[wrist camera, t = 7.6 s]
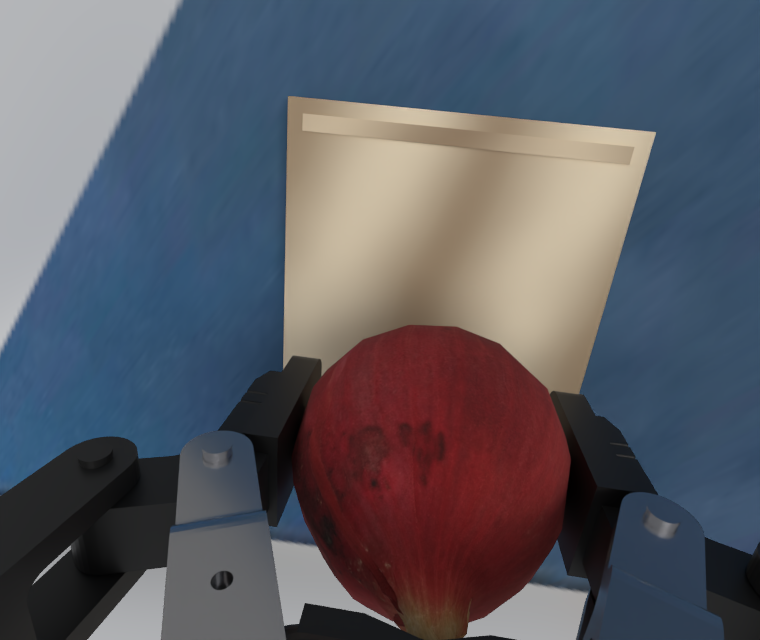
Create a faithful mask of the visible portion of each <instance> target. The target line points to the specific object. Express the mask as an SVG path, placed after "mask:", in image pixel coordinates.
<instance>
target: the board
mask: <svg viewBox="0 0 760 640" xmlns="http://www.w3.org/2000/svg"><path fill="white" fill-rule="evenodd" d="M655 134H656V132H647V131H637V130H627V129H617V128H607V127H597V126H587V125H576V124H566V123H556V122H546V121H536V120H526V119H516V118H506V117H496V116H485V115H475V114H465V113H455V112H445V111H435V110H425V109H415V108H405V107H394V106H384V105H374V104H364V103H354V102H344V101H334V100H324V99H314V98H303V97H293V96H288V126H287V182H286V239H285V295H284V351H283V369H284V368H285V366H286V365H287V363H288V362H289V360H290V359H291V357H292V356H293V355H295V356H302V357H310V358H317V359H321V362H322V373H321V377H322V375H323V374H324V373H325V372H326V370H327V369H328V368H330V367H331V366H332V365H333V364H334V363H336V362H337V361H338V360H339V359H340V358H341V357H343V356H344V355H345V354H346V353H347V352H349V351H350V350H351V349H352V348H353V347H354V346H356V345H357V344H358V343H359V342H360V341H361V340H363V339H366V338H369V337H372V336H375V335H378V334H381V333H385V332H388V331H391V330H394V329H397V328H400V327H403V326H407V325H431V326H456V327H459V328H462V329H464V330H467V331H469V332H472V333H474V334H477V335H479V336H482V337H484V338H487V339H490V340H492V341H495V342H497V343H500V344H501V345H502V346H503V347H504V348H505V349H506V350H507V351H508V352H509V353H510V354H511V355H512V356H513V357H514V358H516V359H517V360H518V361H519V362H520V363H521V364H522V365H523V366H524V367H525V368H526V369H527V370H528V371H529V372H530V373H531V374H532V375H534V376H535V377H536V378H537V379H538V380H539V381H540V382H541V383H542V384H543V385H544V386H545V387H546V388H547V389H548V391H549V394H550V393H551V392H552V391H559V392H566V393H574V394H579V392H580V388H581V385H582V382H583V378H584V375H585V371H586V368H587V365H588V361H589V358H590V354H591V351H592V348H593V344H594V341H595V338H596V334H597V331H598V327H599V324H600V321H601V317H602V314H603V310H604V307H605V304H606V300H607V297H608V293H609V290H610V287H611V283H612V280H613V276H614V273H615V270H616V266H617V263H618V260H619V256H620V253H621V249H622V246H623V243H624V239H625V236H626V232H627V229H628V226H629V222H630V219H631V215H632V212H633V209H634V205H635V202H636V198H637V195H638V192H639V188H640V185H641V182H642V178H643V175H644V171H645V168H646V165H647V161H648V158H649V154H650V151H651V148H652V144H653V141H654V137H655Z"/></svg>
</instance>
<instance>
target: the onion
mask: <svg viewBox="0 0 760 640" xmlns="http://www.w3.org/2000/svg"><path fill="white" fill-rule="evenodd" d="M570 464H571V457H570V453H569V448H568V444H567V440H566V436H565V433H564V431H563V428H562V425H561V423H560V420H559V418H558V415H557V412H556V410H555V407H554V404H553V402H552V399H551V396H550V394H549V391H548V389H547V388H546V387H545V386H544V385H543V384H542V383H541V382H540V381H539V380H538V379H537V378H536V377H535V376H534V375H532V374H531V373H530V372H529V371H528V370H527V369H526V368H525V367H524V366H523V365H522V364H521V363H520V362H519V361H518V360H517V359H516V358H514V357H513V356H512V355H511V354H510V353H509V352H508V351H507V350H506V349H505V348H504V347H503V346H502V345H501V344H500V343H497V342H495V341H492V340H490V339H487V338H484V337H482V336H479V335H477V334H474V333H472V332H469V331H467V330H464V329H462V328H459V327H456V326H431V325H407V326H403V327H400V328H397V329H394V330H391V331H388V332H385V333H381V334H378V335H375V336H372V337H369V338H366V339H363V340H361V341H360V342H359V343H358V344H357V345H356V346H354V347H353V348H352V349H351V350H350V351H349V352H347V353H346V354H345V355H344V356H343V357H341V358H340V359H339V360H338V361H337V362H336V363H334V364H333V365H332V366H331V367H330V368H328V369H327V370H326V372H325V373H324V374H323V375H322V377H321V378H320V379H319V380H318V382H317V383H316V384H315V385H314V387H313V389H312V392H311V395H310V398H309V400H308V403H307V406H306V409H305V412H304V415H303V418H302V421H301V424H300V427H299V430H298V434H297V437H296V441H295V445H294V449H293V453H292V472H293V483H294V486H295V490H296V493H297V497H298V500H299V503H300V507H301V510H302V514H303V517H304V521H305V523H306V525H307V526H308V528H309V530H310V532H311V534H312V536H313V538H314V540H315V542H316V544H317V546H318V548H319V550H320V552H321V554H322V556H323V558H324V559H325V561H326V563H327V564H328V566H329V568H330V569H331V571H332V572H333V574H334V576H336V578H337V579H338V580H339V582H340V583H341V584H342V585H343V587H344V588H345V589H346V590H347V592H348V593H349V594H350V595H351V597H352V598H353V599H354V600H356V601H358V602H359V603H361V604H363V605H364V606H366V607H367V608H369V609H371V610H373V611H375V612H377V613H378V614H380V615H382V616H384V617H386V618H388V619H390V620H391V621H394V622H395V623H396V624H397V626H398V627H399V628H400V629H401V630H403V631H405V632H407V633H409V634H412V635H414V636H416V637H418V638H421V639H424V640H445V639H456V638H463V637H464V636H465V635H466V634H467V628H468V623H469V622H472V621H474V620H477V619H480V618H484V617H485V616H487V615H488V614H489V613H491V612H492V611H493V610H495V609H496V608H498V607H499V606H500V605H502V604H503V603H504V602H506V601H507V600H508V599H510V598H512V597H513V596H514V595H516V594H517V593H518V592H520V591H521V590H522V589H523V588H524V586H525V585H526V584H527V583H528V582H529V581H530V580H531V579H532V577H533V576H534V574H535V573H536V571H537V570H538V569H539V567H540V566H541V564H542V563H543V561H544V560H545V558H546V557H547V556H548V554H549V553H550V551H551V550H552V548H553V546H554V544H555V542H556V540H557V538H558V536H559V534H560V532H561V530H562V525H563V518H564V511H565V504H566V496H567V488H568V480H569V472H570Z"/></svg>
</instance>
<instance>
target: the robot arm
mask: <svg viewBox="0 0 760 640" xmlns="http://www.w3.org/2000/svg"><path fill="white" fill-rule="evenodd" d="M321 373H322V362H321V359H317V358H310V357H302V356H295V355H293V356H292V357H291V359H290V360H289V362H288V363H287V365H286V366H285V368H284V369H283V371H282V372H276V371H269V372H267V373H266V374H264V375H262V376H260V377H259V378H257V379H255V381H254V382H253V384H252V385H251V386H250V388H249V389H248V391H247V393H245V394H244V396H243V397H242V399H241V401H240V402H239V403H238V404H237V405H236V407H235V408H234V409H233V411H232V412H231V414H230V415H229V416H228V418H227V419H226V420H225V422H224V423H223V424H222V426H221V427H220V428H219V430H218V431H213V432H209V433H205V434H202V435H200V436H198V437H196V438H194V439H192V440H191V441H189V442H188V443H187V444H186V445H185V446H184V448H183V449H182V451H181V454H180V455H176V456H168V457H154V458H141V459H138V453H137V447H136V446H135V444H134V443H133V442H131V441H130V440H128V439H125V438H121V437H100V438H95V439H91V440H87V441H84V442H81V443H79V444H77V445H75V446H73V447H71V448H69V449H68V450H66V451H65V452H63V453H62V454H60V455H59V456H58V457H56V458H55V459H53V460H52V461H50V462H49V463H47V464H46V465H45V466H43V467H42V468H40V469H39V470H37V471H36V472H35V473H33V474H32V475H30V476H29V477H27V478H26V479H24V480H23V481H22V482H20V483H19V484H17V485H16V486H14V487H13V488H12V489H10V490H9V491H7V492H6V493H4V494H3V495H2V496H0V640H87V639H88V638H89V637H90V636H91V634H92V633H93V632H94V631H95V630H96V629H97V628H98V626H99V625H100V624H101V623H102V622H103V620H104V619H105V618H106V617H107V616H108V615H109V613H110V612H111V611H112V610H113V609H114V608H115V606H116V605H117V604H118V603H119V602H120V601H121V599H122V598H123V597H124V596H125V595H126V593H127V592H128V591H129V590H130V589H131V588H132V587H133V585H134V584H135V583H136V582H137V581H138V579H139V578H140V577H141V576H142V575H143V574H144V572H145V571H146V570H147V569H154V568H162V567H167V572H166V584H165V596H164V609H163V621H162V633H161V640H424V639H421V638H418V637H416V636H414V635H412V634H409V633H407V632H405V631H403V630H400V629H398V628H396V627H393V626H391V625H389V624H387V623H385V622H383V621H380V620H378V619H376V618H374V617H371V616H369V615H367V614H365V613H359V612H353V611H347V610H342V609H336V608H330V607H325V606H318V605H313V604H307V603H305V605H304V609H303V612H302V616H301V619H300V623H299V624H295V625H287V626H284V622H283V616H282V609H281V603H280V597H279V590H278V584H277V577H276V570H275V564H274V557H273V551H272V544H271V538H270V531H269V526H274V527H277V525H278V523H279V520H280V518H281V516H282V513H283V511H284V508H285V506H286V503H287V501H288V498H289V496H290V494H291V491H292V489H293V486H294V483H293V472H292V453H293V449H294V445H295V441H296V437H297V434H298V430H299V427H300V424H301V421H302V418H303V415H304V412H305V409H306V406H307V403H308V400H309V398H310V395H311V392H312V389H313V387H314V385H315V384H316V383H317V382H318V380H319V379H320V378H321ZM550 396H551V399H552V402H553V404H554V407H555V410H556V412H557V415H558V418H559V420H560V423H561V425H562V428H563V431H564V433H565V436H566V440H567V444H568V448H569V453H570V457H571V464H570V472H569V480H568V488H567V496H566V504H565V511H564V518H563V525H562V530H561V532H560V534H559V536H558V538H557V540H558V543H559V547H560V550H561V554H562V557H563V561H564V564H565V568H566V571H567V575H569V576H576V577H582V578H588V581H589V584H590V590H589V593H588V595H587V598H586V601H585V605H584V609H583V613H582V617H581V621H580V625H579V630H578V634H577V638H576V640H760V543H759V544H758V546H757V548H756V549H755V551H754V553H753V555H751V554H748V553H745V552H743V551H740V550H737V549H734V548H732V547H729V546H726V545H723V544H721V543H718V542H715V541H713V540H710V539H708V538H706V537H705V536H704V531H703V529H702V527H701V525H700V524H699V522H698V521H697V520H696V519H695V518H694V517H693V516H692V515H691V514H690V513H689V512H688V511H687V510H685V509H684V508H683V507H681V506H679V505H678V504H676V503H674V502H673V501H671V500H669V499H666V498H664V497H661V496H659V495H658V494H657V492H656V490H655V489H654V487H653V485H652V484H651V482H650V480H649V479H648V477H647V475H646V474H645V472H644V470H643V469H642V467H641V465H640V464H639V462H638V460H637V459H635V455H634V454H633V452H632V450H631V449H630V447H628V443H627V442H626V440H625V438H624V437H623V435H622V433H621V432H620V430H619V429H617V428H616V427H615V426H614V425H613V424H611V423H610V422H609V421H608V420H607V419H606V418H604V417H600V416H595V414H594V412H593V411H592V409H591V407H590V405H589V403H588V401H587V399H586V398H585V396H584V395H581V394H574V393H566V392H559V391H552V392H551V393H550ZM70 545H71V550H70V551H69V552H68V553H67V554H66V555H65V556H63V557H62V558H61V559H60V560H59V561H58V562H57V563H56V564H55V565H54V566H53V567H52V568H51V569H49V570H48V571H47V572H46V573H45V574H44V575H43V576H42V577H41V578H40V579H39V580H38V581H36V582H35V583H34V581H35V579H36V578H37V577H38V575H39V574H40V573H41V572H42V571H43V570H44V569H45V568H46V567H47V566H48V565H49V564H50V563H51V562H52V561H53V560H55V559H56V558H57V557H58V556H59V555H60V554H61V553H62V552H63V551H64V550H65V549H67V548H68V547H69V546H70ZM33 583H34V584H33ZM32 584H33V585H32ZM445 640H515V639H509V638H503V637H497V636H491V635H490V636H479V637H467V638H456V639H445Z"/></svg>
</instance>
